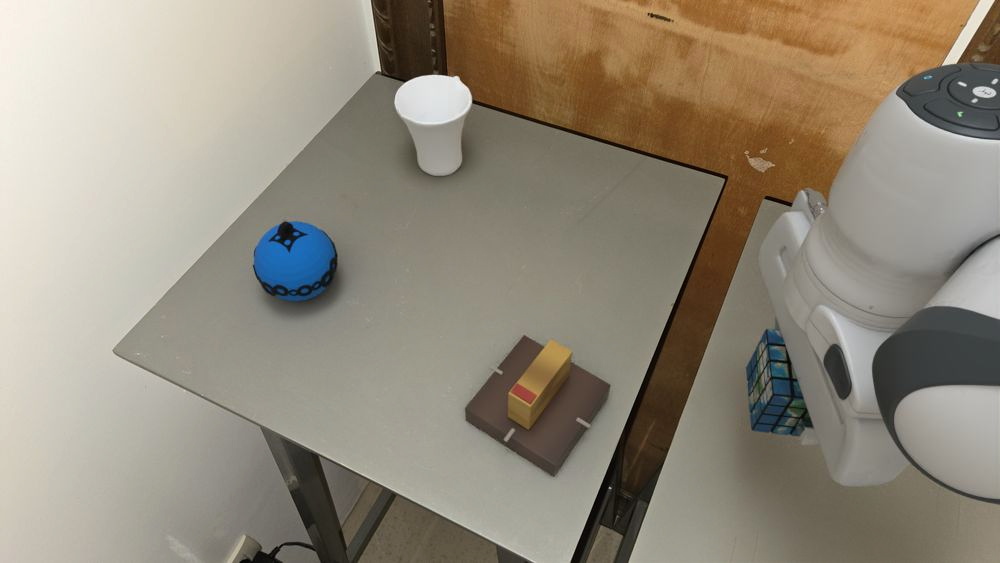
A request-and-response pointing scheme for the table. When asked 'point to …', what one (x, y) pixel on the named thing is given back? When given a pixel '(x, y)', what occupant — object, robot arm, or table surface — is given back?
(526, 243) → the table surface
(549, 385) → the stamp
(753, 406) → the puzzle
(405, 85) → the cup
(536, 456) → the stamp base
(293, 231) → the ornament
